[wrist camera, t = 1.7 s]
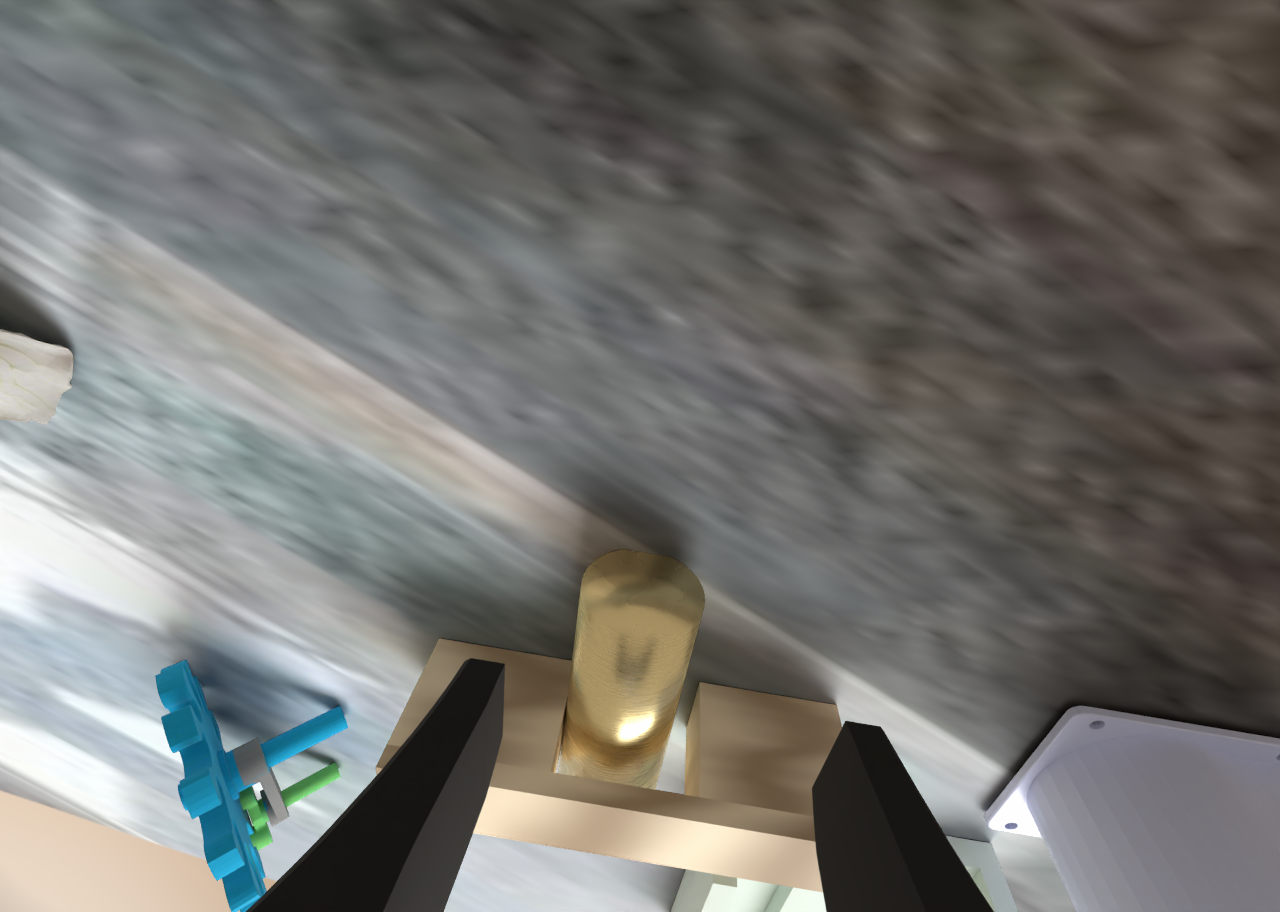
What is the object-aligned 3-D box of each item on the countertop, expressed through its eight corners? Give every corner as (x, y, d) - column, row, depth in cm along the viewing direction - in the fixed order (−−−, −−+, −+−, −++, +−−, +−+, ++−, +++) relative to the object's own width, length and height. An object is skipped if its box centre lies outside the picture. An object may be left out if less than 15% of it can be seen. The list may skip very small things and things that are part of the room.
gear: (118, 626, 23) (170, 882, 17) (291, 566, 26) (378, 766, 21) (195, 755, 30) (248, 967, 24) (324, 695, 33) (395, 869, 28)
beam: (836, 705, 24) (869, 850, 19) (815, 750, 25) (840, 895, 21) (439, 638, 24) (375, 767, 19) (441, 687, 25) (383, 817, 21)
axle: (609, 535, 21) (559, 609, 18) (717, 572, 20) (685, 657, 17) (579, 740, 28) (538, 823, 24) (662, 775, 27) (630, 866, 23)
